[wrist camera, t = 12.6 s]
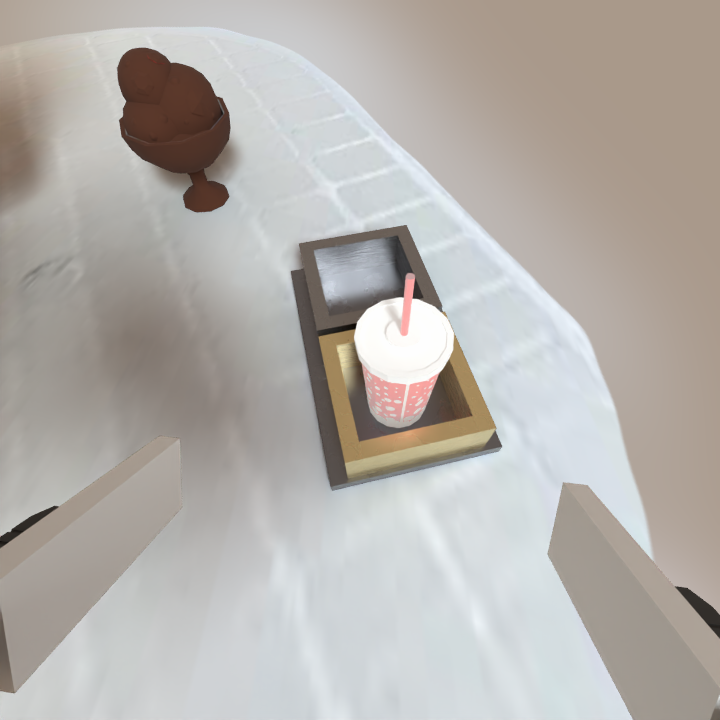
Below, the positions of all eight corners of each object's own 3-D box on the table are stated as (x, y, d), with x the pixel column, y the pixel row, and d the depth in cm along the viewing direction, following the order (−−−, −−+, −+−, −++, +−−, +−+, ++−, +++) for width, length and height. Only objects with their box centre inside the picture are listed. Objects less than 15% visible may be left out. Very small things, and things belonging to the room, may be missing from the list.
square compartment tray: (292, 278, 41) (284, 243, 37) (414, 256, 42) (418, 220, 38) (332, 490, 29) (326, 472, 26) (498, 451, 31) (516, 428, 27)
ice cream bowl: (168, 238, 45) (88, 89, 32) (156, 183, 51) (85, 39, 38) (260, 213, 47) (218, 64, 34) (238, 163, 53) (196, 20, 40)
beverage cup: (430, 367, 34) (461, 233, 22) (440, 435, 30) (482, 321, 19) (357, 370, 34) (349, 237, 22) (359, 438, 30) (350, 326, 19)
